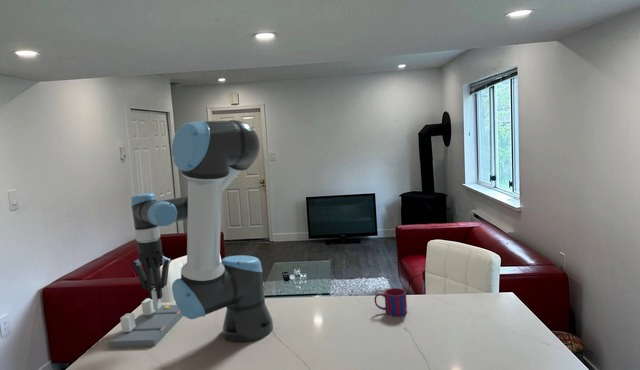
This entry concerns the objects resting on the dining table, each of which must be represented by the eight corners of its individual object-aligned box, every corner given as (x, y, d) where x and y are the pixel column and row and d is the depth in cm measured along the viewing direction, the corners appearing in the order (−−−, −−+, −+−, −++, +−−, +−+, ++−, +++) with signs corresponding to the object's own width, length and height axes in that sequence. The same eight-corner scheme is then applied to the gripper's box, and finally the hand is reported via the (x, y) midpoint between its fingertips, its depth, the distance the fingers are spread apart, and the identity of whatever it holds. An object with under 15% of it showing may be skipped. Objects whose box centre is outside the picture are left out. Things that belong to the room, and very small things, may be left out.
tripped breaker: (150, 315, 142) (148, 302, 141) (143, 315, 142) (141, 302, 141) (155, 310, 145) (153, 298, 145) (148, 311, 145) (146, 298, 145)
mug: (406, 317, 130) (405, 296, 130) (374, 316, 133) (373, 295, 132) (407, 308, 137) (406, 288, 136) (376, 307, 139) (375, 287, 138)
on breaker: (129, 331, 130) (128, 317, 129) (122, 332, 130) (120, 318, 130) (135, 326, 133) (134, 313, 133) (128, 326, 134) (126, 313, 133)
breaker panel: (154, 346, 124) (153, 338, 124) (109, 347, 125) (108, 340, 125) (189, 309, 150) (188, 303, 149) (151, 311, 151) (150, 304, 151)
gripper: (172, 236, 143) (180, 302, 146) (135, 238, 144) (144, 304, 147) (162, 241, 136) (171, 311, 139) (124, 244, 137) (133, 313, 140)
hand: (157, 307), depth 143 cm, fingers closed
